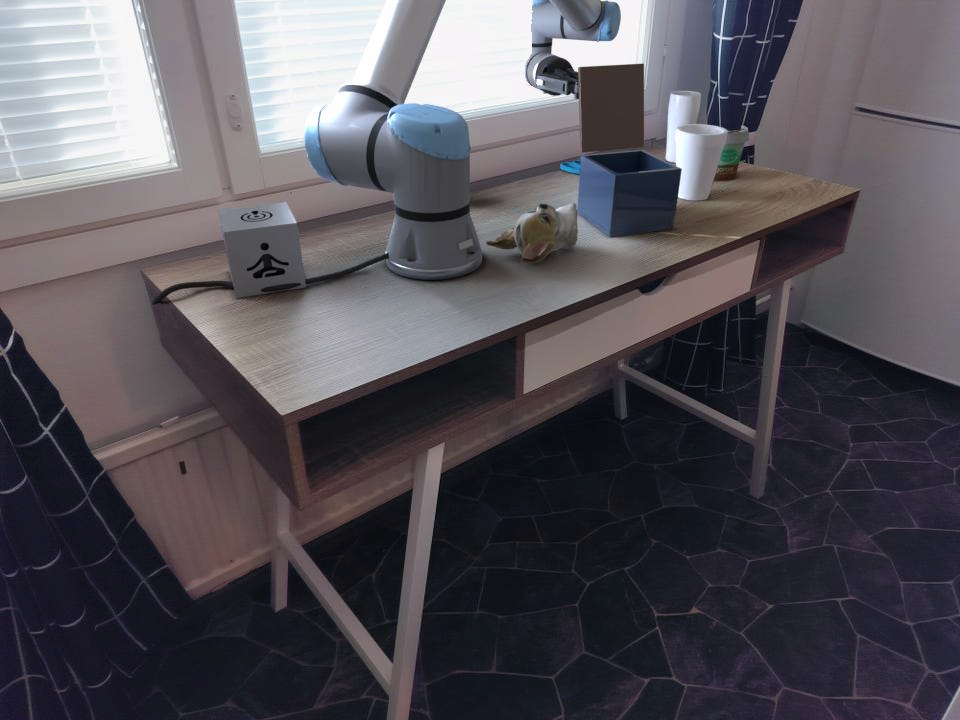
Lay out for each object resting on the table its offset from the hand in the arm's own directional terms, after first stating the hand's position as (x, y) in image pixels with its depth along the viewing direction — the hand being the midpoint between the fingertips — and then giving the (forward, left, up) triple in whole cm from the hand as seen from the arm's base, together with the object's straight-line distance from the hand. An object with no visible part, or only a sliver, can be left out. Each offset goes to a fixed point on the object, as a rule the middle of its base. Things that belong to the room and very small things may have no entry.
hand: (600, 94), depth 132 cm
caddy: (0, -14, -20) cm, 24 cm away
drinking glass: (+31, +19, -20) cm, 42 cm away
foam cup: (+20, -5, -20) cm, 29 cm away
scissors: (+8, +13, -20) cm, 25 cm away
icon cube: (-64, -21, -20) cm, 70 cm away
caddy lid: (0, -5, -1) cm, 6 cm away
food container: (+33, +4, -20) cm, 39 cm away
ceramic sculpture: (-21, -24, -20) cm, 38 cm away
